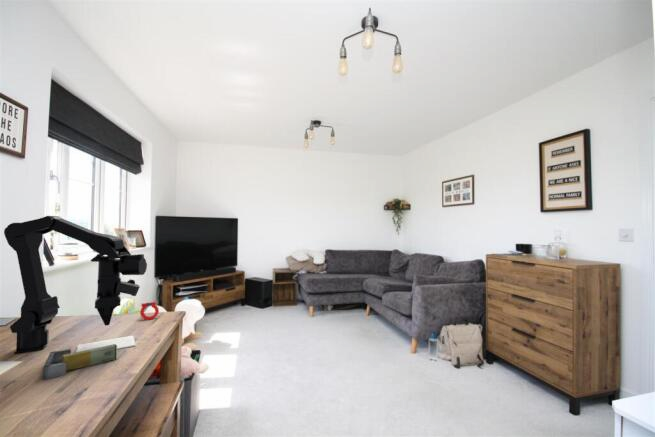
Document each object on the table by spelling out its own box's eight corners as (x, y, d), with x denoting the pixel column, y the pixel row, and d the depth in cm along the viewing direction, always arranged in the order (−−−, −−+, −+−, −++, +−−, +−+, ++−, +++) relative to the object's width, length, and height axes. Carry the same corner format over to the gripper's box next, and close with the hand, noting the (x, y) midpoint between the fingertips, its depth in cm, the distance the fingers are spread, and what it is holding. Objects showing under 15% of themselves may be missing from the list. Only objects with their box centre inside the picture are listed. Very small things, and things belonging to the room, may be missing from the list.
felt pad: (74, 357, 87) (74, 356, 87) (77, 346, 95) (77, 345, 95) (135, 346, 96) (135, 344, 96) (133, 336, 104) (133, 335, 104)
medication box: (115, 357, 88) (115, 343, 88) (117, 359, 86) (117, 345, 87) (61, 369, 79) (62, 354, 80) (61, 372, 78) (62, 356, 78)
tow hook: (141, 320, 120) (139, 303, 123) (136, 328, 126) (134, 312, 129) (159, 317, 124) (157, 300, 127) (153, 325, 130) (152, 309, 133)
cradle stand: (42, 379, 74) (42, 367, 74) (50, 362, 83) (50, 352, 84) (65, 374, 77) (66, 363, 77) (70, 358, 86) (71, 348, 86)
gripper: (140, 277, 93) (138, 327, 93) (136, 269, 108) (135, 312, 108) (95, 280, 87) (93, 334, 86) (98, 272, 102) (96, 317, 101)
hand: (107, 323), depth 95 cm, fingers open, 4 cm apart
